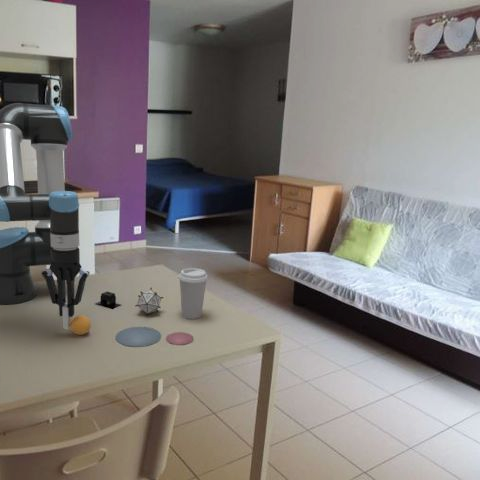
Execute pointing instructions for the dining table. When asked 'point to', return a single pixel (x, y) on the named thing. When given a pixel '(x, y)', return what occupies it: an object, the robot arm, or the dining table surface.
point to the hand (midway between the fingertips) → (67, 326)
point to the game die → (149, 301)
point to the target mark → (138, 336)
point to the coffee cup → (192, 292)
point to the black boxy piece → (108, 300)
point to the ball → (80, 325)
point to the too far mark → (179, 338)
